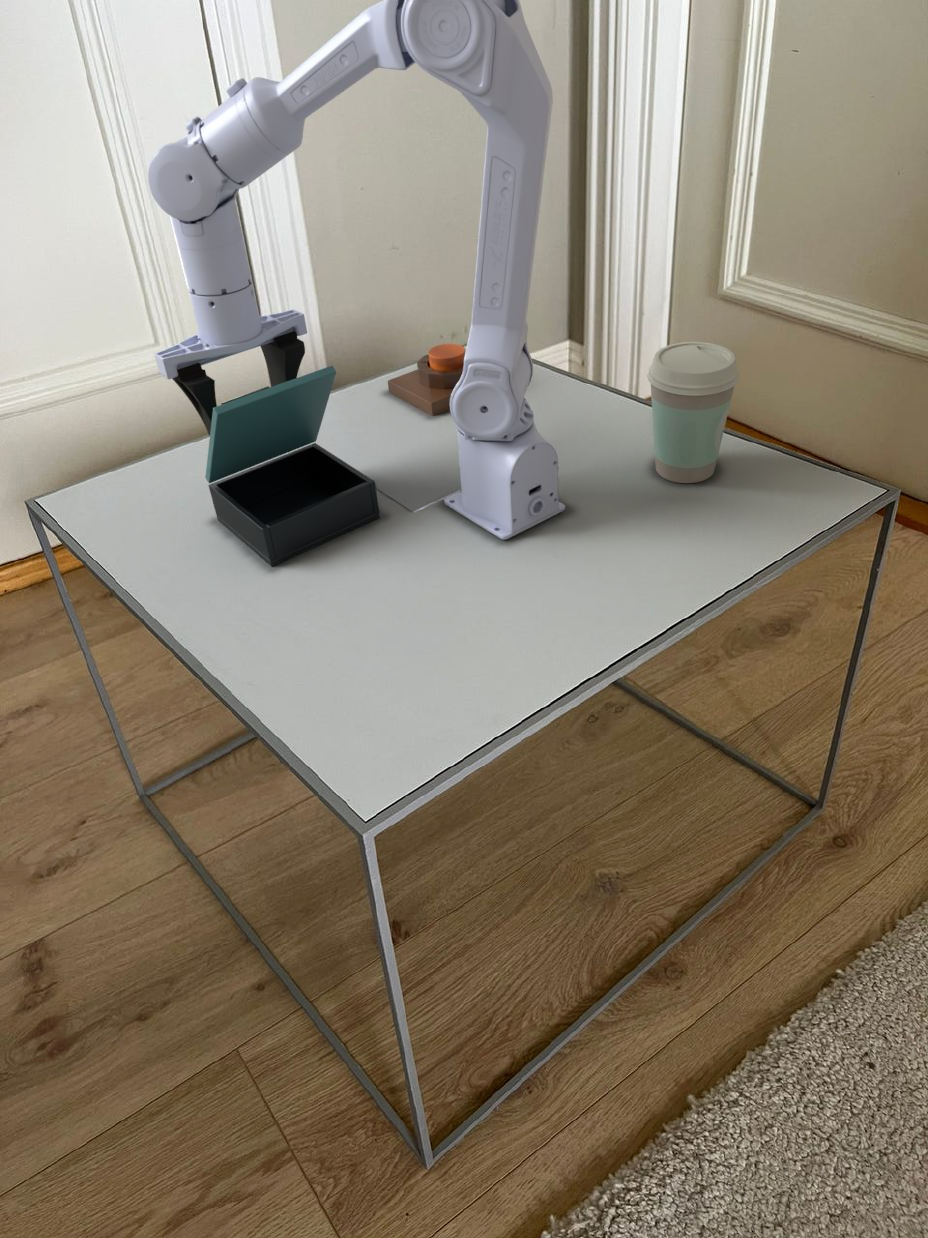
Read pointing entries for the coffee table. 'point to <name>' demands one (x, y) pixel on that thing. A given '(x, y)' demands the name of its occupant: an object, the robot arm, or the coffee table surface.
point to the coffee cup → (690, 407)
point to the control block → (426, 387)
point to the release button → (446, 357)
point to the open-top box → (294, 502)
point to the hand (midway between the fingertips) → (251, 423)
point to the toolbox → (267, 423)
